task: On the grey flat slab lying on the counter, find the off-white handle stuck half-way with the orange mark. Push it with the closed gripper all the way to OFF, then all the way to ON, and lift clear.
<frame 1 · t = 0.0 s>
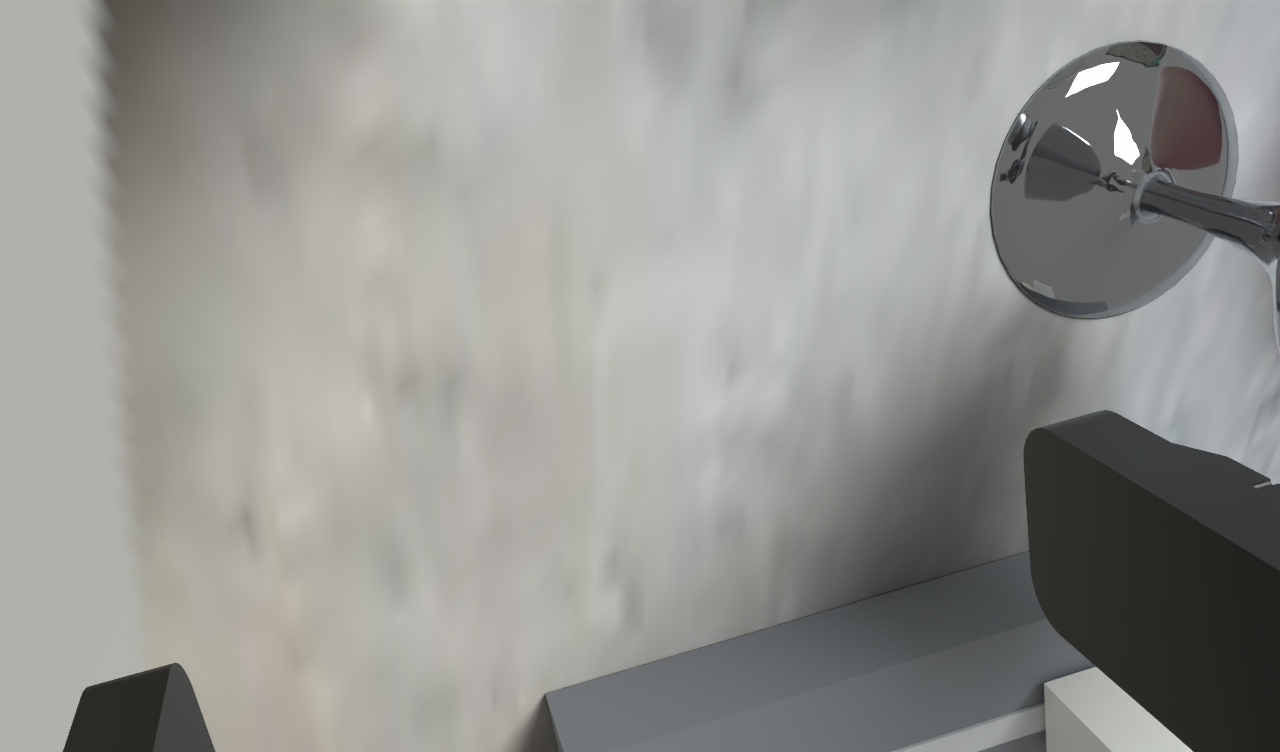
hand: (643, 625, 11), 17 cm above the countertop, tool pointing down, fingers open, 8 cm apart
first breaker: (1142, 749, 30), point 5 cm above the countertop, slide at 8.0 cm
wine glass: (1112, 183, 31), on the countertop
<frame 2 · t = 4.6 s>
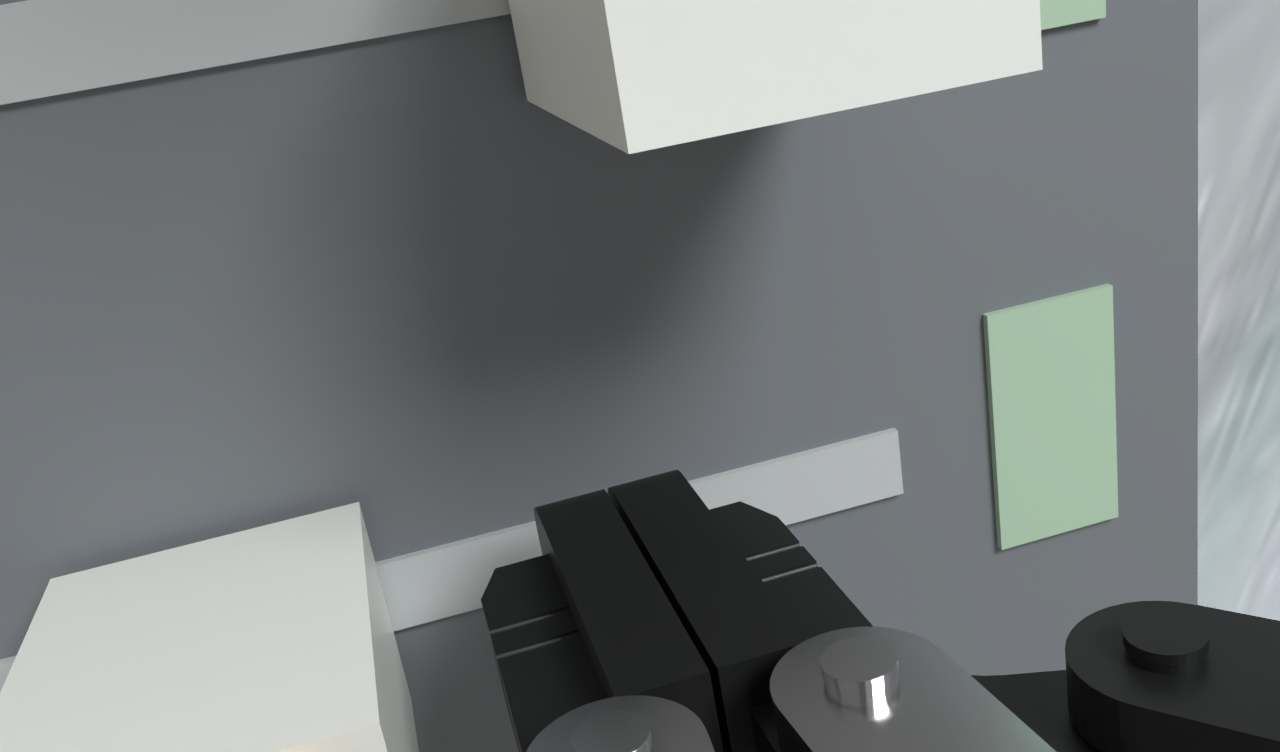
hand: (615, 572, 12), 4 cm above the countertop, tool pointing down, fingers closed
grey flat slab: (368, 488, 16), on the countertop
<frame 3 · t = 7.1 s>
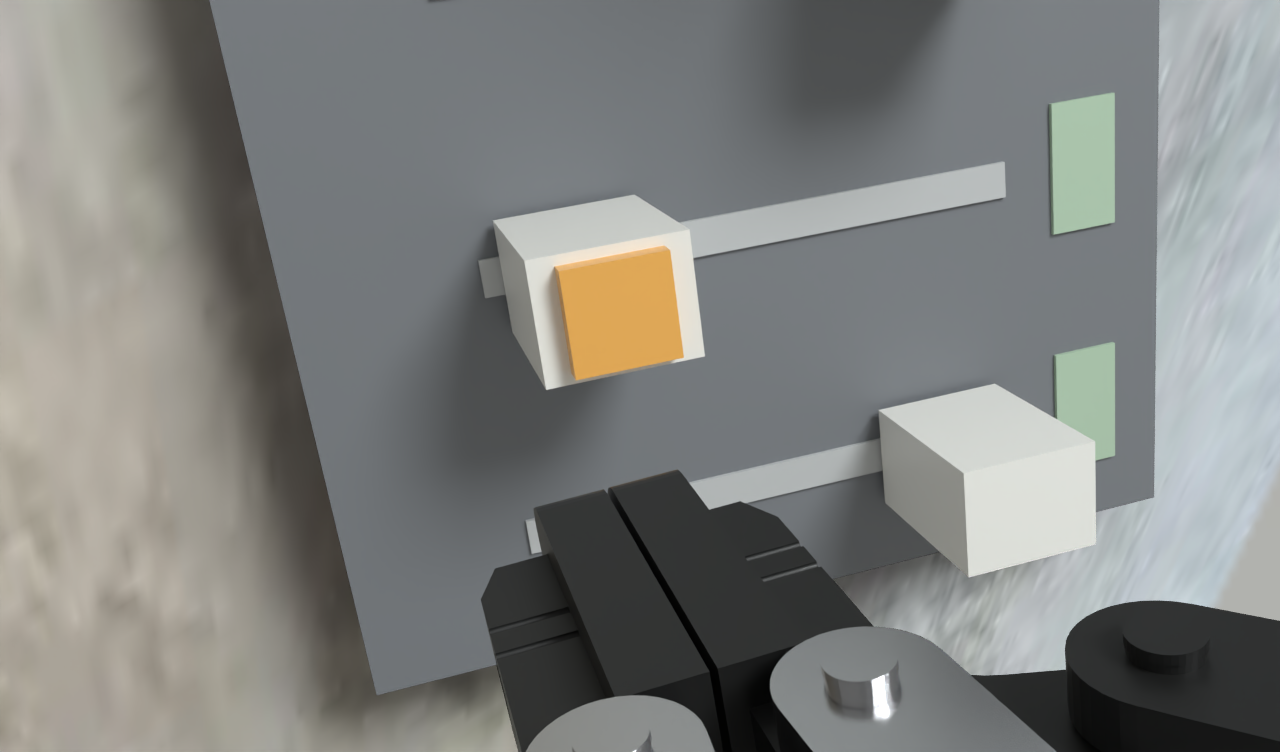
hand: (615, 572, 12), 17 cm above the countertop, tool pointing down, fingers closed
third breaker: (982, 474, 27), point 5 cm above the countertop, slide at 8.0 cm
tripped breaker: (595, 287, 23), point 5 cm above the countertop, slide at -0.1 cm
grey flat slab: (711, 204, 29), on the countertop
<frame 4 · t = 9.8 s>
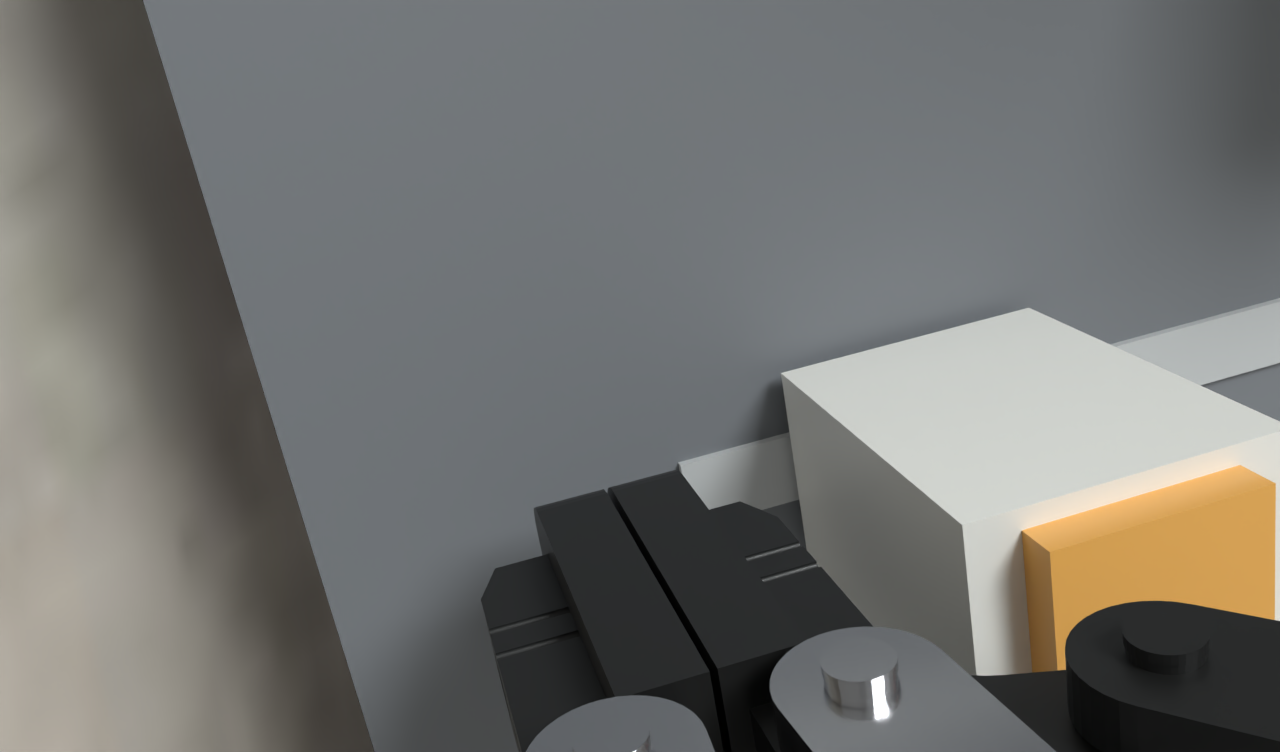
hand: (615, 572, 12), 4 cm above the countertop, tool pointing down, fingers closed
tripped breaker: (1021, 515, 12), point 5 cm above the countertop, slide at 0.8 cm, touching gripper
grey flat slab: (1021, 302, 17), on the countertop
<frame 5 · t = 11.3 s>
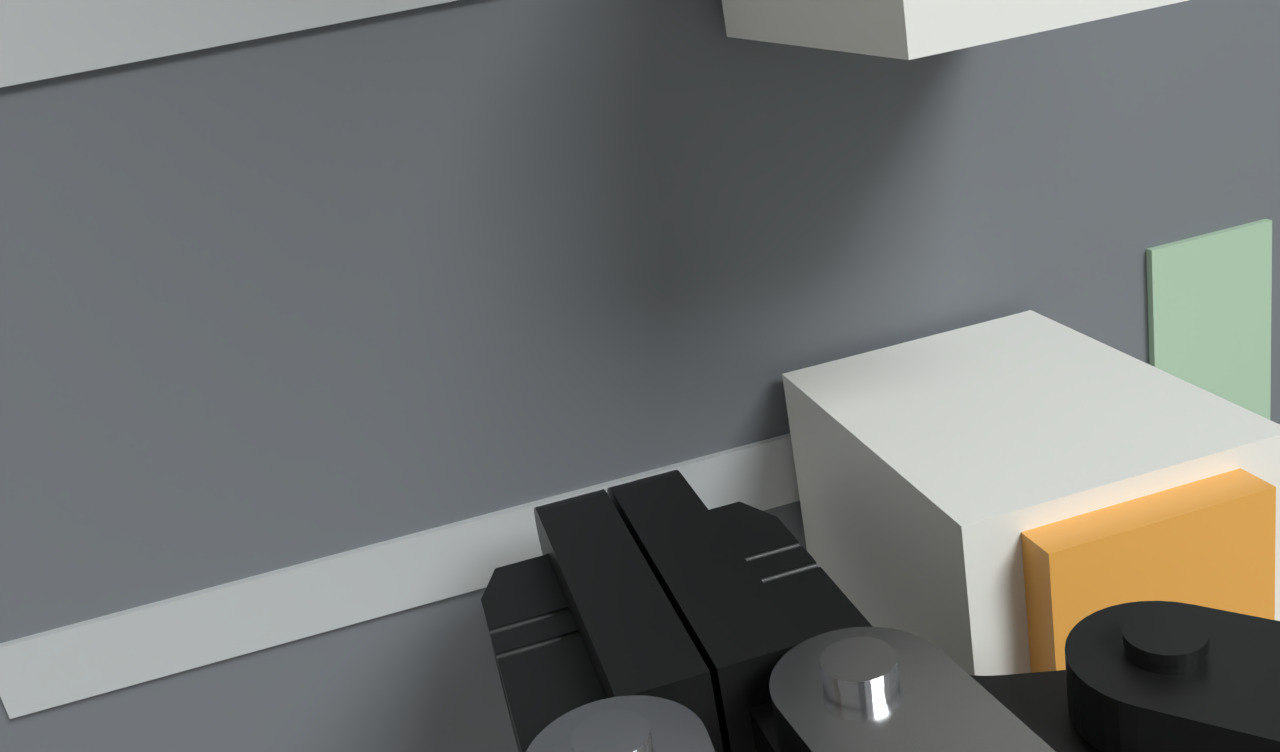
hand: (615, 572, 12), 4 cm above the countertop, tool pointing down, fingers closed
tripped breaker: (1021, 518, 12), point 5 cm above the countertop, slide at 8.1 cm, touching gripper
grey flat slab: (527, 432, 16), on the countertop
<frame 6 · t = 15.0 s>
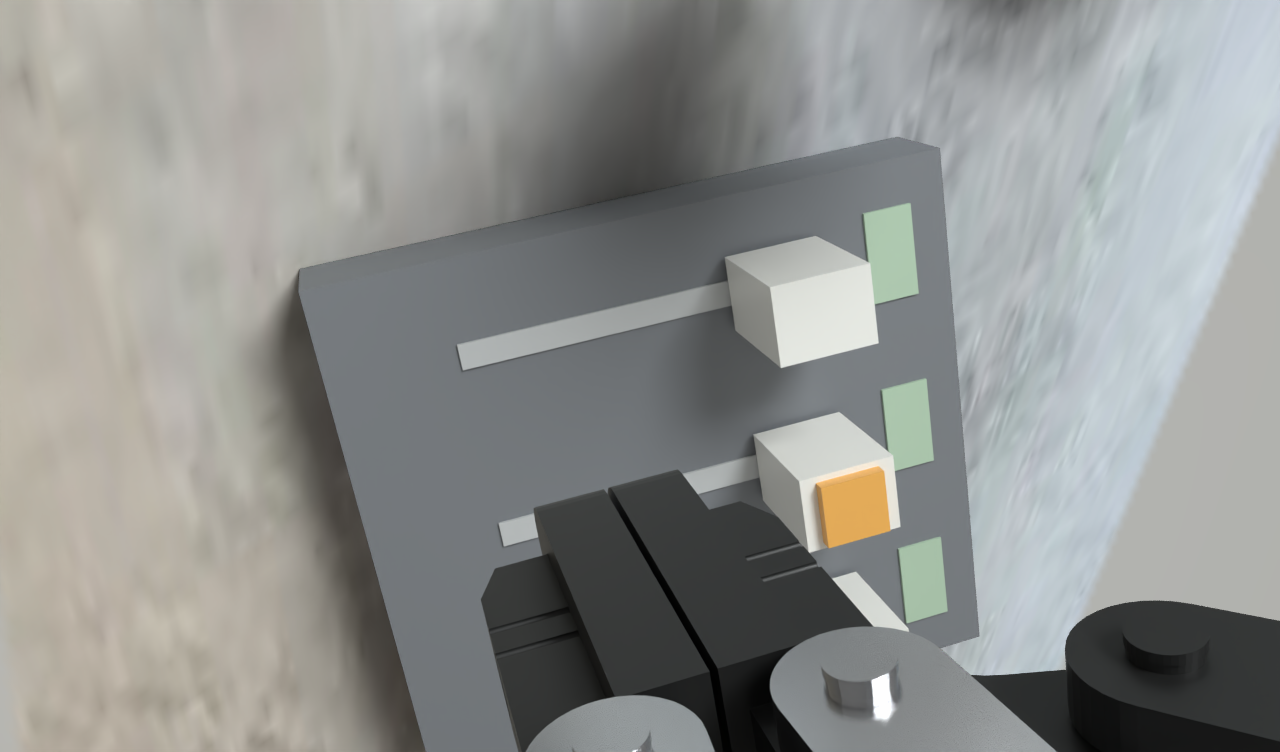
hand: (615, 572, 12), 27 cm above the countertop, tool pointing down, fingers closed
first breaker: (799, 298, 36), point 5 cm above the countertop, slide at 8.0 cm
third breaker: (842, 642, 40), point 5 cm above the countertop, slide at 8.0 cm
tripped breaker: (827, 481, 38), point 5 cm above the countertop, slide at 8.1 cm
grey flat slab: (657, 452, 42), on the countertop
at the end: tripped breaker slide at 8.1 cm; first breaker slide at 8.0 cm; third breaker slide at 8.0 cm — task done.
